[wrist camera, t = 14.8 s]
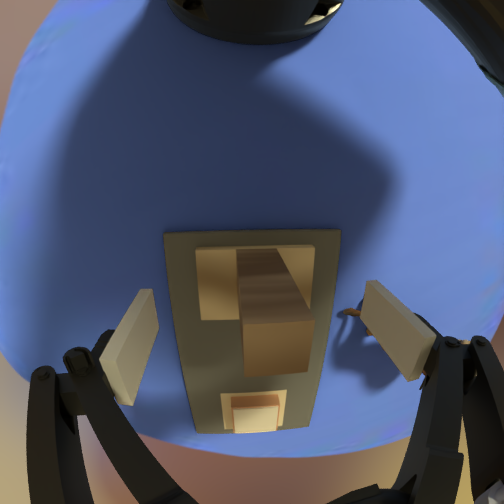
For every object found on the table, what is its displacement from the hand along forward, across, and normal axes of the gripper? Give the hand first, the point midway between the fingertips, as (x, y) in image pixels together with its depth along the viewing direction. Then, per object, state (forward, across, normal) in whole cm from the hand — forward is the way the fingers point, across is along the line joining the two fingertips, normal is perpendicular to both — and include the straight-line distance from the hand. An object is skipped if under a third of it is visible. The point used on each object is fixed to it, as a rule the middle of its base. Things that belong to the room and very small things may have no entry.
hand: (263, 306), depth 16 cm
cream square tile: (+6, 0, -17) cm, 18 cm away
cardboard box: (+6, 0, -1) cm, 6 cm away
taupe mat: (+7, 0, -10) cm, 12 cm away
